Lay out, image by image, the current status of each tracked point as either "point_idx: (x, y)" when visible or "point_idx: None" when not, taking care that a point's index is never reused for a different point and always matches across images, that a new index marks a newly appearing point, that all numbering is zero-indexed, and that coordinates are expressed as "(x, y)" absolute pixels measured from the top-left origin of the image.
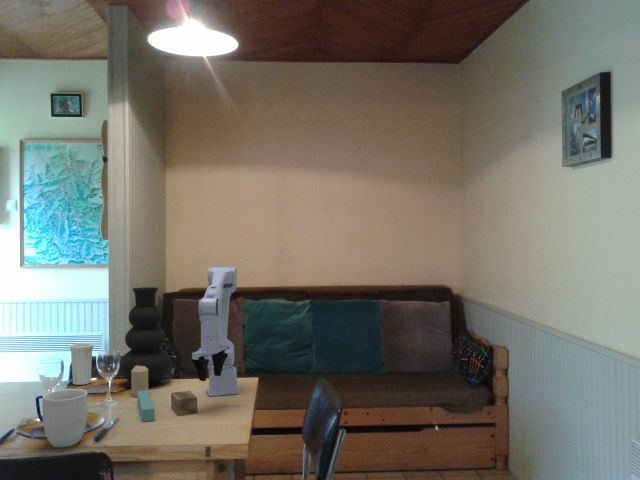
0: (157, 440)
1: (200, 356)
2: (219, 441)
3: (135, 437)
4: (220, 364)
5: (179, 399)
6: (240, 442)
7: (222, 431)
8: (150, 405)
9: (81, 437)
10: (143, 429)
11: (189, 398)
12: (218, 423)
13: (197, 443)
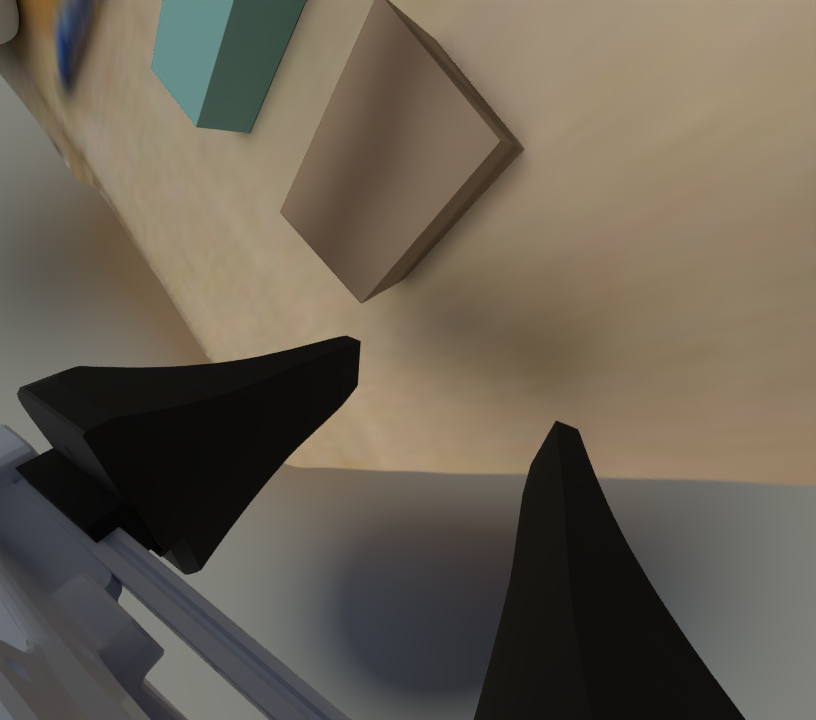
0: (180, 278)
1: (68, 535)
2: None
3: (149, 197)
4: (510, 592)
5: (291, 215)
6: None
7: None
8: (205, 40)
9: (3, 32)
10: (185, 168)
11: (331, 265)
12: None
13: None
